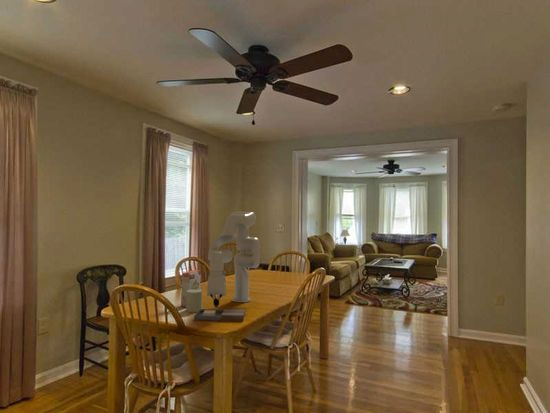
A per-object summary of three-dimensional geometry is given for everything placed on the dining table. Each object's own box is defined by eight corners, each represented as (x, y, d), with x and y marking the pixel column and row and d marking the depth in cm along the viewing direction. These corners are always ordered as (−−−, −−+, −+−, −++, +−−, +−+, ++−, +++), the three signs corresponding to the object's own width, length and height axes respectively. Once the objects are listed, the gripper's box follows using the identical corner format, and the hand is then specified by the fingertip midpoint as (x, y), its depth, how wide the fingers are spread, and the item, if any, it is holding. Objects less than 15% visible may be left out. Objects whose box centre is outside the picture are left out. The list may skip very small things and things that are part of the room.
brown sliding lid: (224, 313, 198) (224, 308, 198) (245, 314, 198) (245, 308, 199) (220, 320, 184) (221, 315, 184) (243, 321, 184) (243, 315, 185)
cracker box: (189, 307, 210) (190, 273, 211) (180, 306, 212) (181, 272, 212) (200, 302, 223) (201, 270, 224) (192, 301, 225) (193, 269, 226)
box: (199, 313, 198) (199, 308, 198) (223, 313, 198) (224, 309, 198) (194, 320, 184) (194, 315, 184) (220, 320, 184) (220, 316, 184)
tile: (215, 310, 194) (215, 314, 194) (204, 310, 194) (204, 314, 194) (214, 313, 188) (213, 317, 188) (203, 313, 188) (202, 317, 188)
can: (202, 308, 210) (202, 288, 210) (201, 312, 201) (201, 291, 201) (186, 308, 209) (187, 288, 209) (185, 312, 199) (185, 291, 200)
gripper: (230, 272, 196) (230, 304, 196) (204, 272, 196) (204, 304, 196) (229, 274, 189) (228, 308, 188) (202, 274, 188) (201, 308, 188)
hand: (216, 306), depth 192 cm, fingers closed
